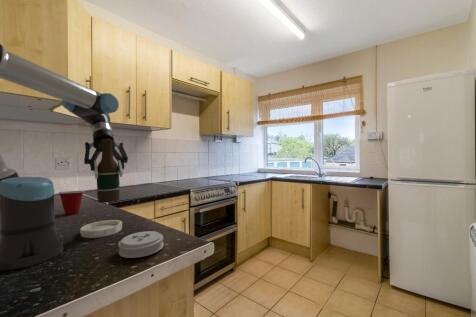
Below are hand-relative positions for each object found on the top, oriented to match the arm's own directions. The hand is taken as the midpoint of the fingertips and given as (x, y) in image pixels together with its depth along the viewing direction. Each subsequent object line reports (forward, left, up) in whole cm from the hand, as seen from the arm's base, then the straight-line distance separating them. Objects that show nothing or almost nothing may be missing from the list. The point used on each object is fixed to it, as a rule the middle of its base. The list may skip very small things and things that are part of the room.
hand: (109, 175), depth 83 cm
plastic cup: (+29, +42, -22) cm, 55 cm away
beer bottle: (+3, +3, -10) cm, 11 cm away
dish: (+3, +6, -22) cm, 23 cm away
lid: (-13, -19, -23) cm, 33 cm away
